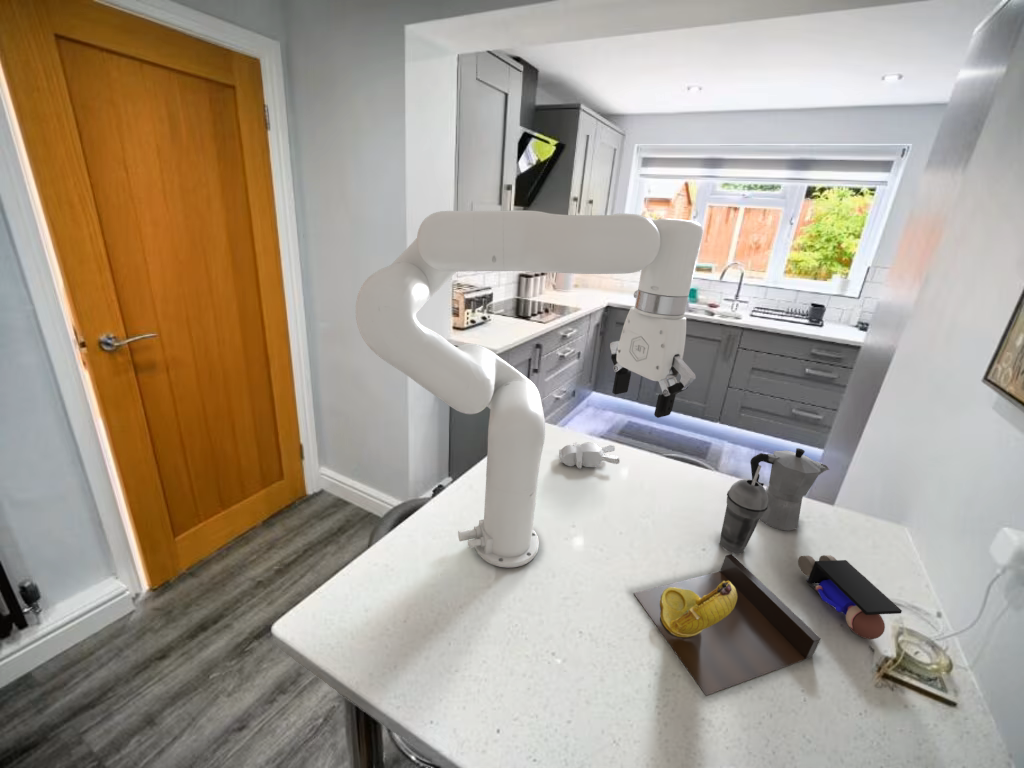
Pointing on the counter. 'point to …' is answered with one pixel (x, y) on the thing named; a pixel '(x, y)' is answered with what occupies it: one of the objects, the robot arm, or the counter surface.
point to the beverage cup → (743, 513)
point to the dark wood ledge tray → (736, 631)
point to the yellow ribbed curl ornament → (695, 609)
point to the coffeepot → (786, 485)
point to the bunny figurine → (586, 455)
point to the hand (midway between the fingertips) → (639, 403)
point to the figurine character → (849, 594)
